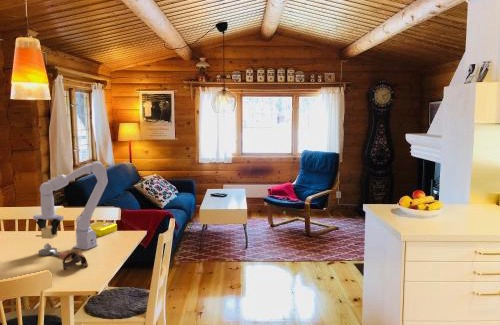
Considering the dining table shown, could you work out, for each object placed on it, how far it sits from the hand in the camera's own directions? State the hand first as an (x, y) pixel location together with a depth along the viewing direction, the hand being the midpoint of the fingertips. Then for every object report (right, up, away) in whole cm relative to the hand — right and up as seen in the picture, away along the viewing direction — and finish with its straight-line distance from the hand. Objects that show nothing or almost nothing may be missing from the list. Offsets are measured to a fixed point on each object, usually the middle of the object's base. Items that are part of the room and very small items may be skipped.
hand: (49, 234), depth 199 cm
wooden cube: (0, -2, 0) cm, 2 cm away
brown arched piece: (+22, -11, -21) cm, 32 cm away
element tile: (+12, -5, +33) cm, 35 cm away
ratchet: (+7, -9, -6) cm, 13 cm away
